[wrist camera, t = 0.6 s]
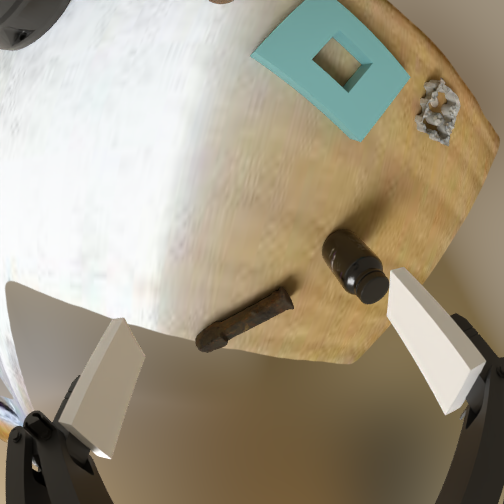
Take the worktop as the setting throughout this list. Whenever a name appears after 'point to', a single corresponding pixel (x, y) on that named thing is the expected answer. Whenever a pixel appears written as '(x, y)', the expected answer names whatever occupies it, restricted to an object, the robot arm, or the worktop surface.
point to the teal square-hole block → (321, 83)
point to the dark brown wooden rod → (243, 321)
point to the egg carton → (442, 122)
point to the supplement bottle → (355, 266)
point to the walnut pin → (220, 1)
